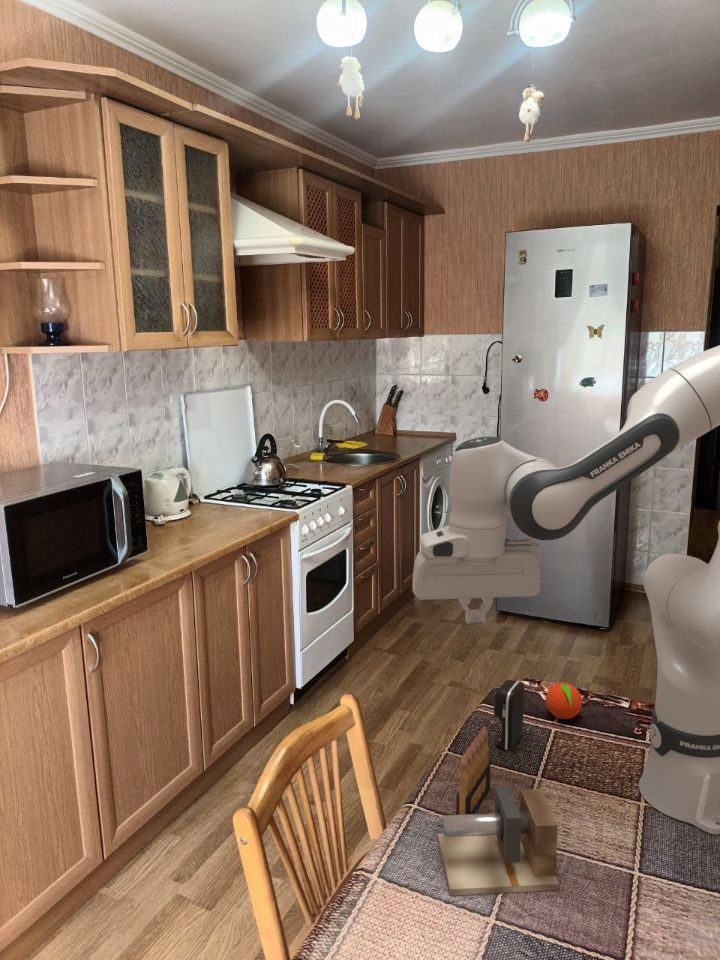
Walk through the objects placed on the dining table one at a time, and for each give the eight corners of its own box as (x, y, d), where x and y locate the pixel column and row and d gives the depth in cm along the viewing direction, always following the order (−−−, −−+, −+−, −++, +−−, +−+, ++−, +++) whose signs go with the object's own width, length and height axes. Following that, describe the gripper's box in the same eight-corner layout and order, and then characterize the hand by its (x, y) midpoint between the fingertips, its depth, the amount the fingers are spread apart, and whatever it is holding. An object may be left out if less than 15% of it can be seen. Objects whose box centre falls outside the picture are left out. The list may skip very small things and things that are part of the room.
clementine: (587, 728, 138) (589, 694, 136) (552, 729, 138) (553, 695, 136) (575, 707, 146) (576, 674, 144) (540, 708, 146) (542, 675, 144)
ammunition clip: (466, 827, 111) (467, 757, 109) (455, 823, 112) (456, 754, 110) (490, 789, 121) (491, 724, 118) (479, 785, 121) (481, 721, 119)
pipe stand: (535, 834, 109) (537, 782, 108) (558, 890, 99) (561, 832, 97) (437, 839, 109) (438, 786, 107) (450, 895, 98) (450, 837, 96)
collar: (507, 828, 107) (508, 786, 105) (519, 862, 100) (521, 817, 98) (493, 828, 107) (495, 786, 105) (505, 863, 100) (506, 818, 98)
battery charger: (504, 729, 138) (505, 674, 136) (523, 734, 136) (525, 679, 134) (490, 746, 133) (491, 690, 130) (510, 752, 131) (512, 695, 128)
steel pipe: (534, 824, 104) (535, 805, 104) (540, 839, 101) (541, 819, 101) (442, 828, 104) (442, 809, 103) (445, 843, 101) (445, 824, 100)
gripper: (536, 532, 117) (533, 612, 120) (410, 535, 116) (411, 616, 119) (547, 543, 111) (544, 627, 114) (415, 547, 110) (415, 632, 113)
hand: (475, 622), depth 116 cm, fingers closed
